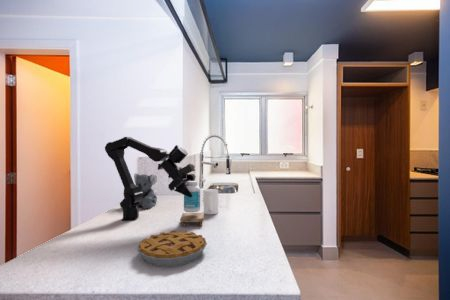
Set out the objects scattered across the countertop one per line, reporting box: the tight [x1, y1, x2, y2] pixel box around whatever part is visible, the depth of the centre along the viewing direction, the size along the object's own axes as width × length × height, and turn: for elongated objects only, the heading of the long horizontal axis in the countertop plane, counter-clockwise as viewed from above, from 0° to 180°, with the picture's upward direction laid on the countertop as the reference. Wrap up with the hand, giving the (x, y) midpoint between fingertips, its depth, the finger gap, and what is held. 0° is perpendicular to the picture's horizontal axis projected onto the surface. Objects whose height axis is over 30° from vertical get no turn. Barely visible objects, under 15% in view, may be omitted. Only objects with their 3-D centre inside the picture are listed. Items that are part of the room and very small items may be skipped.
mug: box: [202, 188, 219, 215], centre depth 136 cm, size 8×12×12 cm
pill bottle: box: [183, 180, 201, 213], centre depth 118 cm, size 8×7×14 cm
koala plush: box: [133, 172, 158, 209], centre depth 156 cm, size 17×18×20 cm
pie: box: [137, 230, 208, 268], centre depth 85 cm, size 22×22×5 cm
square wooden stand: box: [179, 212, 205, 227], centre depth 118 cm, size 10×10×4 cm
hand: (194, 195), depth 118 cm, fingers closed on pill bottle, 7 cm apart
